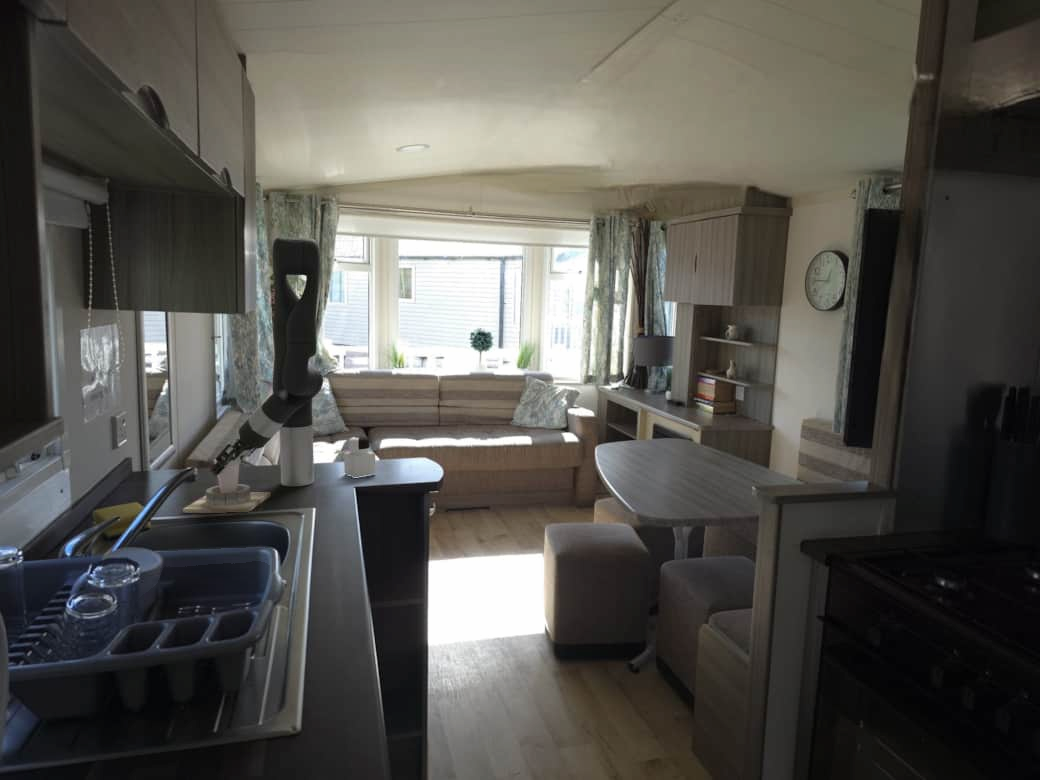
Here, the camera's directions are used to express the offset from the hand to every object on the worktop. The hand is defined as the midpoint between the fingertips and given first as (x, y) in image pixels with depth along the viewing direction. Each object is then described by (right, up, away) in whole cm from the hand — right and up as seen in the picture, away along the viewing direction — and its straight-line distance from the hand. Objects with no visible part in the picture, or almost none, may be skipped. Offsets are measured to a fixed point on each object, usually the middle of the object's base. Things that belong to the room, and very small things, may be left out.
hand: (222, 469), depth 174 cm
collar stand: (+1, -9, +1) cm, 9 cm away
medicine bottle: (+28, -6, +33) cm, 44 cm away
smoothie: (+2, -7, 0) cm, 7 cm away
